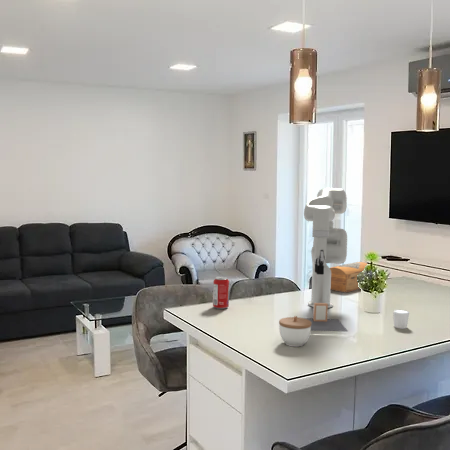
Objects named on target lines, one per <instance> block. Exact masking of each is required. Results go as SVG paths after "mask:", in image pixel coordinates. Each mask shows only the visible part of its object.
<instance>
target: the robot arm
mask: <svg viewBox="0 0 450 450" xmlns="http://www.w3.org/2000/svg"><path fill="white" fill-rule="evenodd" d="M347 199H348V198H347V194H346V191H345V190H344V189H343V188H337V187H335V188H333V187H331V188H330V187H326V188H322V189H319V191H318V192H317V194H316V197H315V198H312V199H310V200H308V201H307V202H306V204H305V207H304V209H303V216H304V219H305V220H306V221H307V222H312V232H311V233H312V235H311V236H312V237H311V238H313V242H312V243H313V244H312V248H311V251H310V252H311V263H312V270H311V272H312V273H311V275H312V276H311V298H310V299H311V300H310V301H308V302H307V304H308V306H309V307H312V308H314V303H327V304H328V309H329V308H332V307H334V304H333V302H331V291H332V290H331V270H330V268H331V267H329V265H328V264H340V265H343V264H344V263H346V260H347V255H348V253H347V252H348V234H347V233H348V232H347V231H346V230H345V229H344V228H340V227H339V228H338V227H337V228H336V227H334V222H333V220H334V219H335V217H336V216H335V215H336V214H337V215H338V214H339V215H341V214H345V213H346V211H347V208H348V207H347V205H348V204H347Z"/></svg>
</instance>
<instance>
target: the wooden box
mask: <svg viewBox="0 0 450 450" xmlns="http://www.w3.org/2000/svg"><path fill="white" fill-rule="evenodd" d="M367 264H368V263H366V262H364V261H363V262H362V261H357V262H352V263H351V262H350V263H345V264H344V263H343V264H340V265H336V266H332V267H329V268H330V270H331V291H336V292H341V293H350V292H355V291H357V289H358V290H360V289H359V287H358V282H357V275H358V274H359V273H360V272H362V271H363V270H364V268H365V266H366V265H367Z"/></svg>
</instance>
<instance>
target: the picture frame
mask: <svg viewBox="0 0 450 450" xmlns="http://www.w3.org/2000/svg"><path fill="white" fill-rule="evenodd" d="M328 309H329V308H328V304H327V303H314V307H313V310H312V314H313V316H312V318H313V321H325V322H327V319H328Z"/></svg>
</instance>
